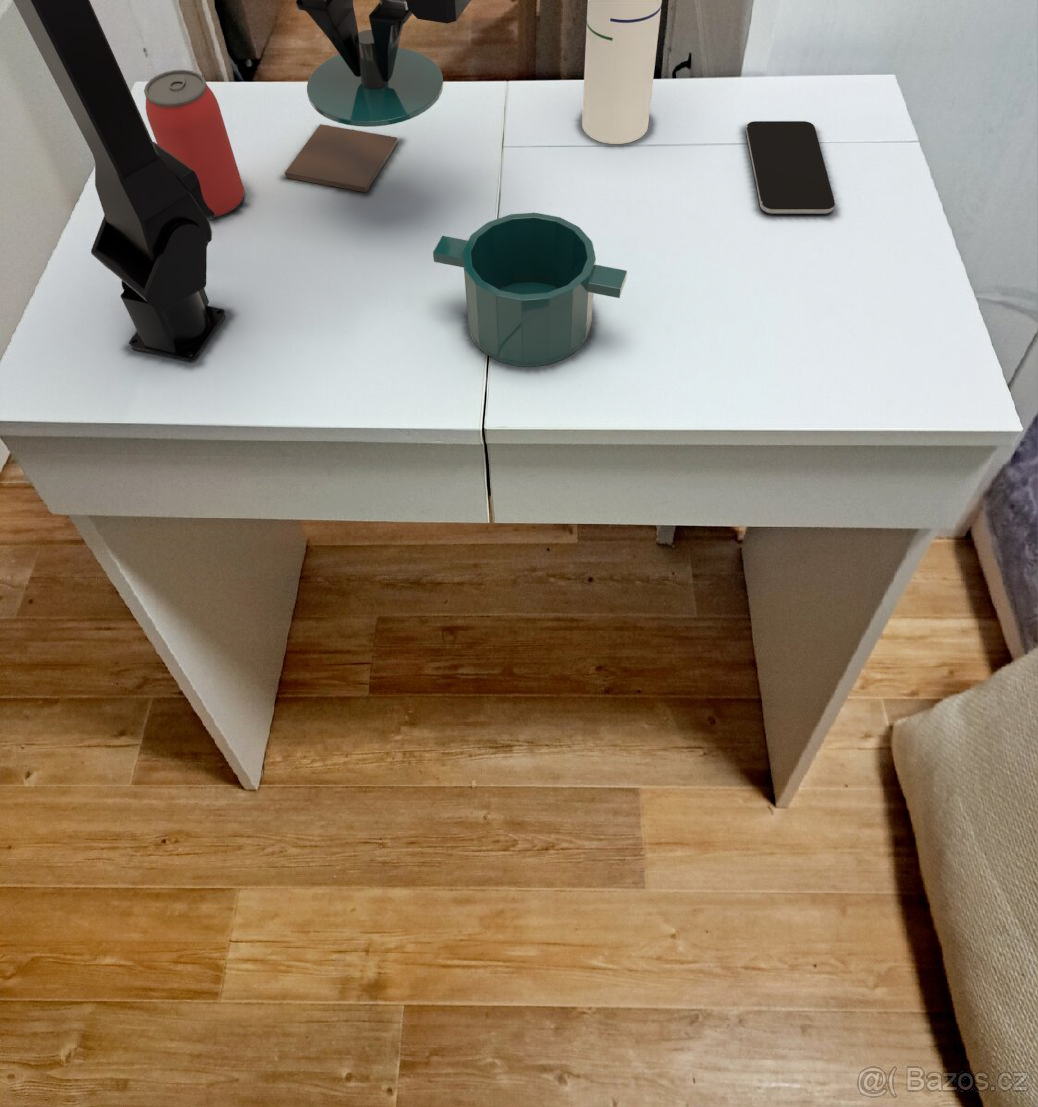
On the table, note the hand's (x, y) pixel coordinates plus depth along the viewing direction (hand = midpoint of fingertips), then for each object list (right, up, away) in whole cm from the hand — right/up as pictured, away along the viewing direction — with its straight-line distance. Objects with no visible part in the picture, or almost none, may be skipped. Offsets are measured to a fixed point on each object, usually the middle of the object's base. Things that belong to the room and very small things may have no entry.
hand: (374, 76), depth 82 cm
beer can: (-18, -7, +12) cm, 23 cm away
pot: (+14, -22, +1) cm, 26 cm away
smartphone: (+41, -3, +13) cm, 43 cm away
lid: (0, -1, +1) cm, 1 cm away
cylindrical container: (+23, +4, +18) cm, 30 cm away
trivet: (-6, -1, +15) cm, 16 cm away
